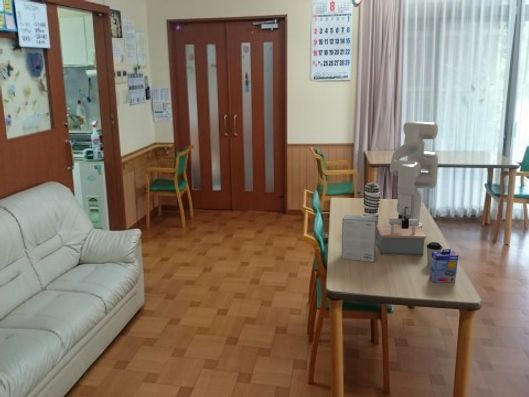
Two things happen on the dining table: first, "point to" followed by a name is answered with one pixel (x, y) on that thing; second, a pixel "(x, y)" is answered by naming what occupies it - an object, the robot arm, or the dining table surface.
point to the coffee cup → (432, 250)
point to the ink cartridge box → (443, 266)
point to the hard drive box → (359, 237)
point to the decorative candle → (371, 200)
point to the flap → (398, 232)
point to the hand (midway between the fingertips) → (403, 225)
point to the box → (400, 245)
